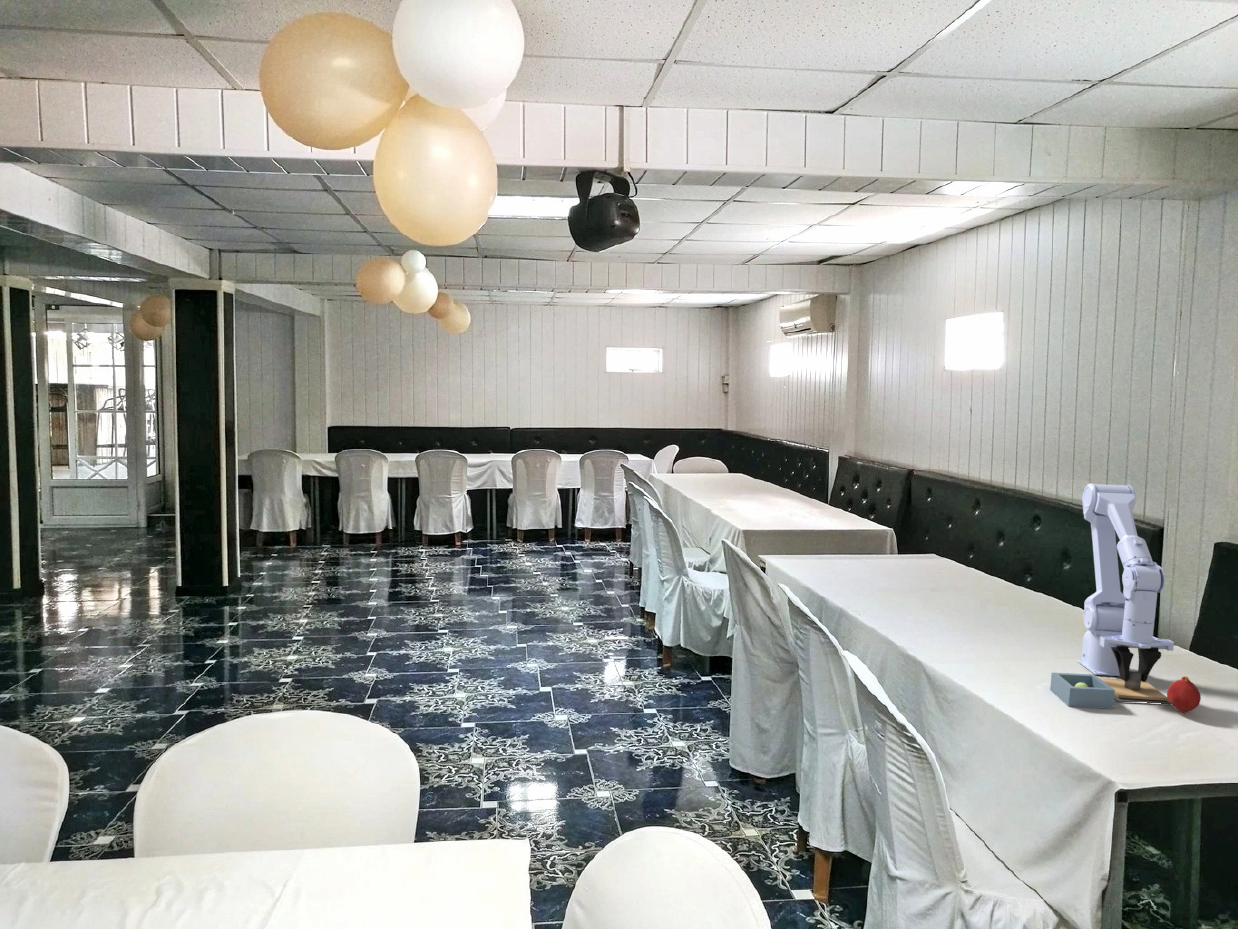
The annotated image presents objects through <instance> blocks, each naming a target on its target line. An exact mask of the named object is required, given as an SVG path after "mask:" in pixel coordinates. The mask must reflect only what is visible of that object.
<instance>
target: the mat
mask: <svg viewBox="0 0 1238 929" xmlns="http://www.w3.org/2000/svg"><path fill="white" fill-rule="evenodd" d="M1114 700H1115V701H1114V702H1115V703H1117V702H1147V703H1161V704H1171V703H1170V702H1169V700H1168V701H1163V700H1147V699H1131V698H1118V697H1117V696H1116V695H1115V694H1114Z"/></svg>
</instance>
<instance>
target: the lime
mask: <svg viewBox="0 0 1238 929" xmlns="http://www.w3.org/2000/svg"><path fill="white" fill-rule="evenodd" d="M1075 687H1088V686H1087V685H1086V684H1085V683H1081V682H1080V683H1077V684H1076V685H1075Z"/></svg>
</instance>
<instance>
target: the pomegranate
mask: <svg viewBox="0 0 1238 929" xmlns="http://www.w3.org/2000/svg"><path fill="white" fill-rule="evenodd" d="M1166 697H1167V698H1168V700H1169V702H1170V703H1171V704H1172V705H1171V706H1172V707H1173V708H1174V709H1176V711H1177V712H1178V713H1179V712H1180V714H1182V713H1183V714H1186V713H1189V712H1192V711H1194V710H1195V709H1196V708H1198V707H1199V705H1200V703H1201V692H1200V690H1199V689H1198V687H1197V686H1196V685H1195V684H1194V682H1192V681H1191V680H1190V678H1189V677H1188V676H1185V675H1184V676H1181V679H1177V680H1175V681H1173V682H1172V683H1171V684H1169V686H1168V688H1167V692H1166Z"/></svg>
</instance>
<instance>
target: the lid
mask: <svg viewBox="0 0 1238 929" xmlns="http://www.w3.org/2000/svg"><path fill="white" fill-rule="evenodd" d="M1141 676H1142V673H1141V672H1140V671H1138V669H1137V670H1136V669H1131V668H1130V669H1129V678H1128V681H1124V680H1122V679H1121V678H1109V677H1108V678H1105V677H1098V678H1099V679H1101V680H1102V681H1103V682H1105V683H1106V684H1107V685H1109V686H1110V687H1111V688H1113V689H1114V690H1115V695H1116V696H1117V697H1118V698H1131V699H1147V700H1163V701H1168V698H1167V695H1165V694H1163V693H1162V692H1161V691H1159V689H1157V688H1155V687H1154V686H1153V685H1151V684H1150V683H1149V682H1148V681H1146V682H1142V681H1141Z"/></svg>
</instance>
